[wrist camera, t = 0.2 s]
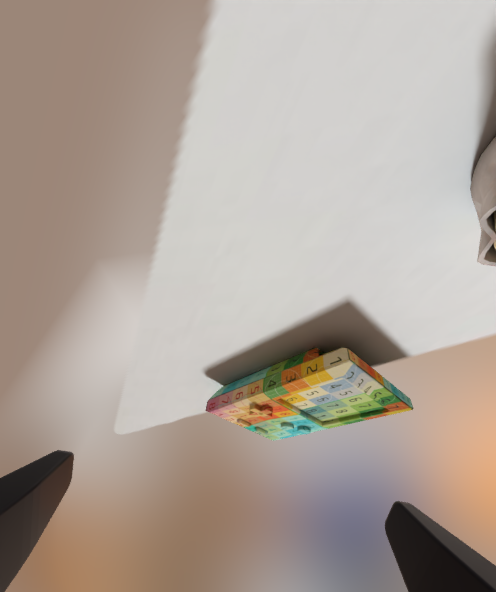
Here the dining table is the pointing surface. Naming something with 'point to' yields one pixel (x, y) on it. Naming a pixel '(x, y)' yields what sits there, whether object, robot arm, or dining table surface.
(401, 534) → the robot arm
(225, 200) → the dining table surface
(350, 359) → the puzzle game
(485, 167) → the cupcake
